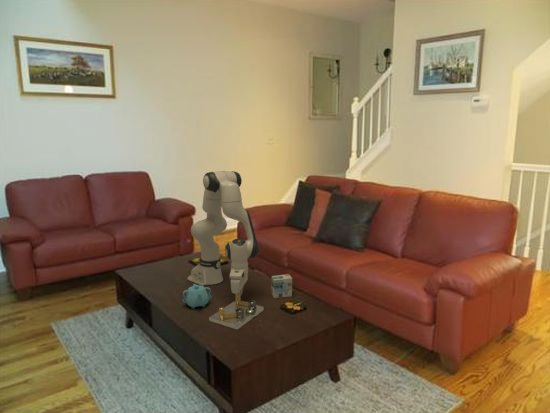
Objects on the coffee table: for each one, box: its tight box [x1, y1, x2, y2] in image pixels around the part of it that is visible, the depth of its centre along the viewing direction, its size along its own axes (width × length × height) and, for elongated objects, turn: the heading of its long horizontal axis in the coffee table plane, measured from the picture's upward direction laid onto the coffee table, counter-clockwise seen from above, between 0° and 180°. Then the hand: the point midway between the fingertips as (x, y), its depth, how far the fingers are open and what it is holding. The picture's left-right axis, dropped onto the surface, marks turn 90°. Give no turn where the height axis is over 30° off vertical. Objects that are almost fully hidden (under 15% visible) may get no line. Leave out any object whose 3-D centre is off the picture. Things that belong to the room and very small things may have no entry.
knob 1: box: [218, 306, 244, 320], centre depth 204 cm, size 12×4×6 cm, turn 108°
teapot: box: [182, 283, 212, 310], centre depth 222 cm, size 13×14×11 cm
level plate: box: [208, 300, 265, 331], centre depth 210 cm, size 18×23×4 cm
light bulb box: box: [270, 273, 293, 299], centre depth 234 cm, size 11×7×11 cm, turn 105°
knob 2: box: [234, 293, 257, 309], centre depth 217 cm, size 12×4×6 cm, turn 59°
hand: (240, 294), depth 223 cm, fingers closed
